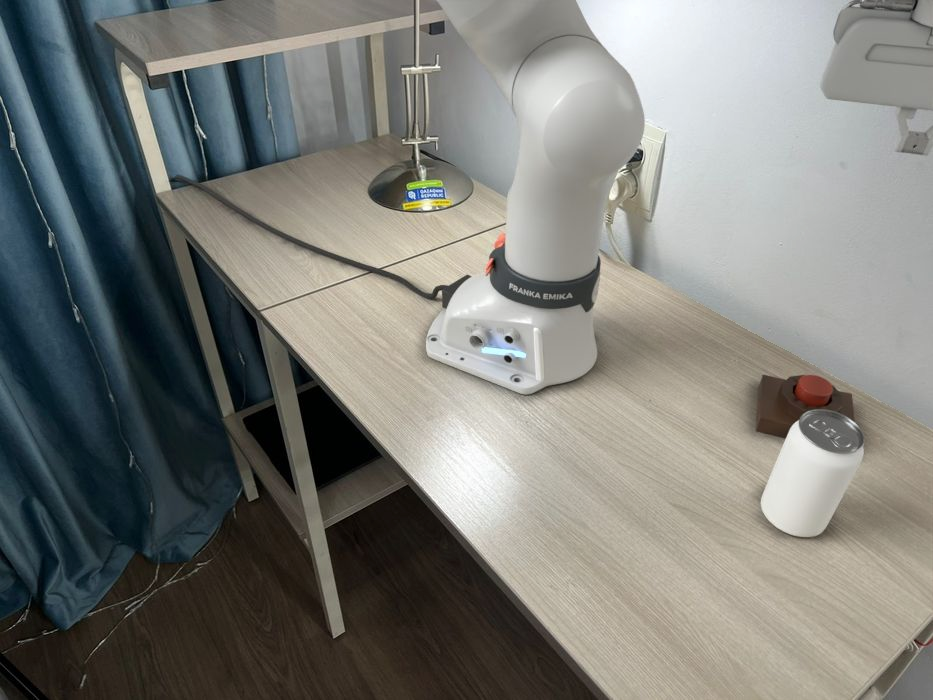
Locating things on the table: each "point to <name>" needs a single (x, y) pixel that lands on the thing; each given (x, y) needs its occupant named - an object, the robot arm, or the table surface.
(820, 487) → the can
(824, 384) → the trigger button
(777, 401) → the button block
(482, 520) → the table surface
